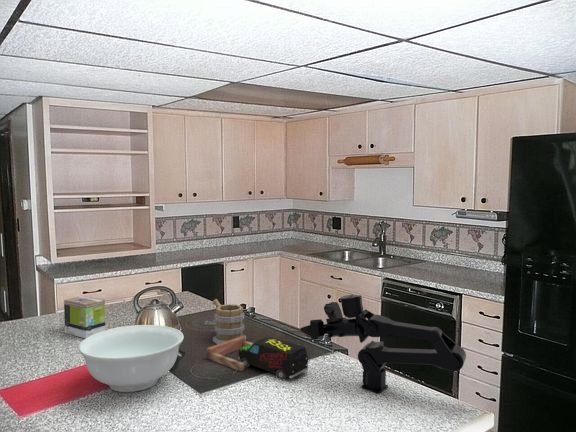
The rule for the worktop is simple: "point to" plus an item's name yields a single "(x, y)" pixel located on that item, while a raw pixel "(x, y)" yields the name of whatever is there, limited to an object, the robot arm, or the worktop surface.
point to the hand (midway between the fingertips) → (308, 328)
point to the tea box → (84, 316)
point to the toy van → (275, 357)
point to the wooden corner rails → (224, 348)
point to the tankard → (228, 322)
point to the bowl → (131, 355)
